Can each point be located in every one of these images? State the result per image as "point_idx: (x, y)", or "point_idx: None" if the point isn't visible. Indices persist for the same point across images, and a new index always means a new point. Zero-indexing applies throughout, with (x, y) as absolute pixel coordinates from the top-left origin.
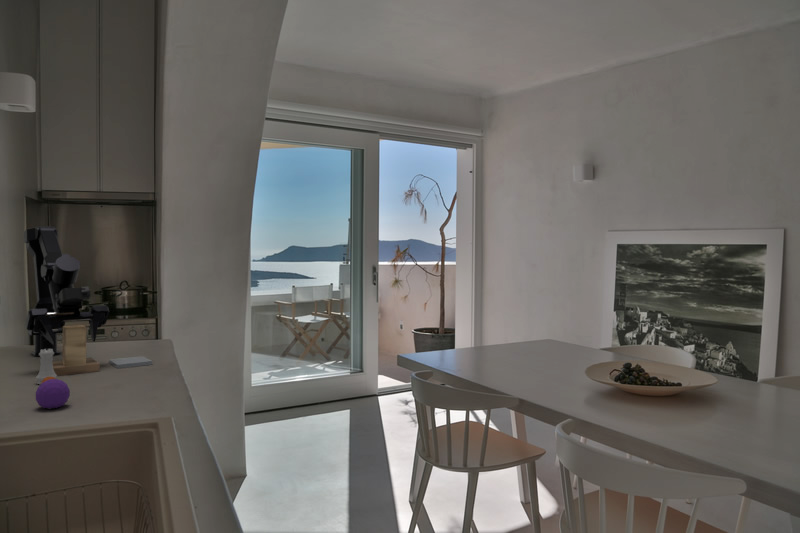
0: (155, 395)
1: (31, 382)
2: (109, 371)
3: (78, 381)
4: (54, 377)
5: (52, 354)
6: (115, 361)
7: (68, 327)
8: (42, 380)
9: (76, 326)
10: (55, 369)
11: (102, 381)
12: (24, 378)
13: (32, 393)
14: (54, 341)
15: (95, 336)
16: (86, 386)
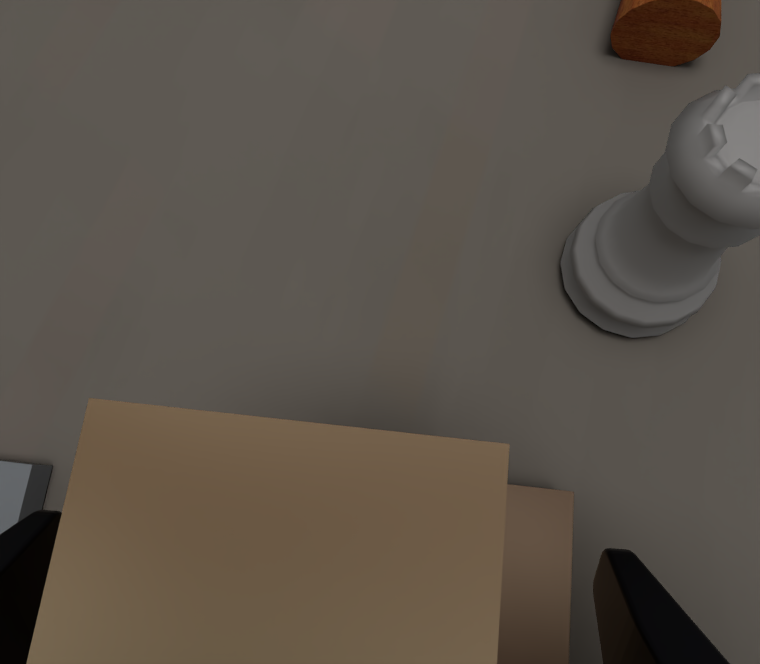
0: None
1: (717, 366)
2: (147, 390)
3: (439, 189)
4: (647, 3)
5: (690, 111)
6: None
7: (444, 483)
8: (720, 12)
9: (236, 558)
10: (534, 489)
11: (322, 97)
12: (749, 572)
13: (747, 37)
14: (627, 559)
15: (3, 533)
16: (444, 26)
